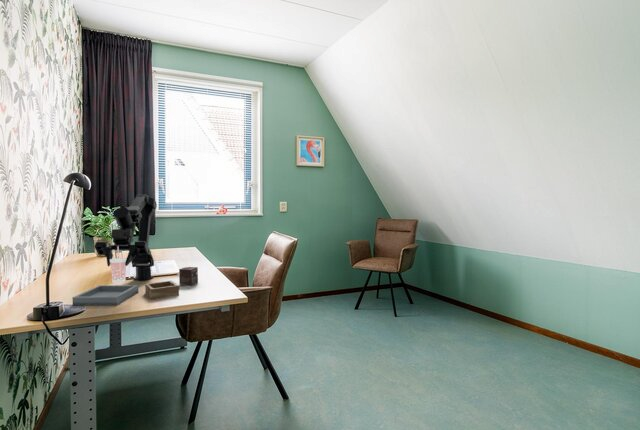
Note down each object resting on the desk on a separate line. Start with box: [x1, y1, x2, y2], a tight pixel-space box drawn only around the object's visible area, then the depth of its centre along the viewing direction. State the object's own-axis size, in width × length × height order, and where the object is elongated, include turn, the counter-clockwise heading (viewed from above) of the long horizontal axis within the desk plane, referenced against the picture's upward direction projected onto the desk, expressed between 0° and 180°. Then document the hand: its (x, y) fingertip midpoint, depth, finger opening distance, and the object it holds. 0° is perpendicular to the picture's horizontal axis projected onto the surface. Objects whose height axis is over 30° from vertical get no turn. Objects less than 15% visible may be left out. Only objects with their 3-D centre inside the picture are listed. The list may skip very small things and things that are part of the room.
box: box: [178, 266, 199, 287], centre depth 175 cm, size 6×6×7 cm
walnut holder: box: [144, 280, 180, 300], centre depth 157 cm, size 10×10×4 cm
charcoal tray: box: [72, 284, 139, 306], centre depth 151 cm, size 18×16×3 cm
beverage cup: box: [110, 246, 127, 284], centre depth 151 cm, size 6×6×14 cm
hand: (117, 265), depth 149 cm, fingers closed on beverage cup, 6 cm apart
